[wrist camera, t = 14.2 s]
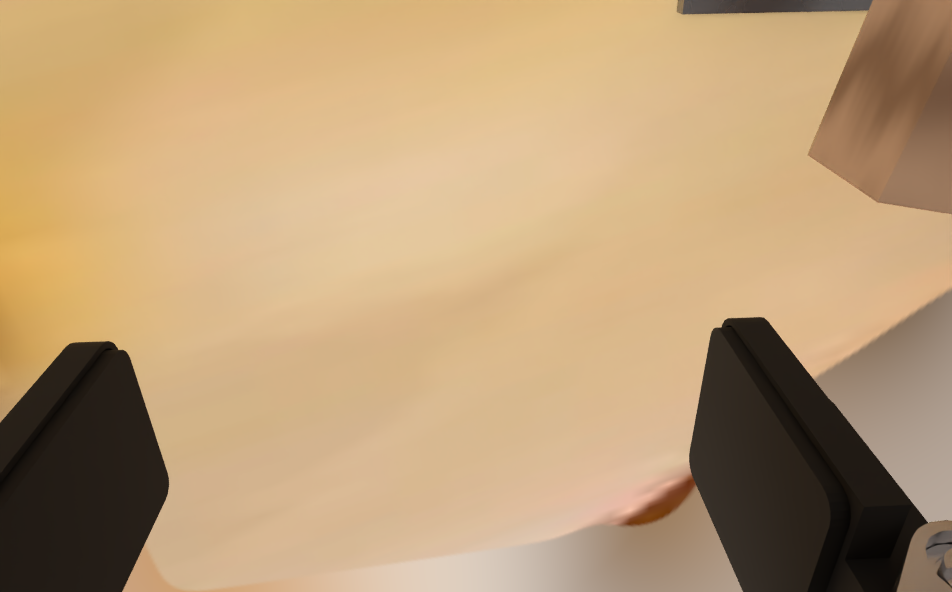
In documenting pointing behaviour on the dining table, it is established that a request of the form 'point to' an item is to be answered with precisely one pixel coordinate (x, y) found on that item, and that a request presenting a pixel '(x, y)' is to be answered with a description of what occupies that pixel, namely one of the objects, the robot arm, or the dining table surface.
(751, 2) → the ridge stand
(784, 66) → the dining table surface
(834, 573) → the robot arm
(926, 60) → the brown wooden block
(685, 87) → the dining table surface
